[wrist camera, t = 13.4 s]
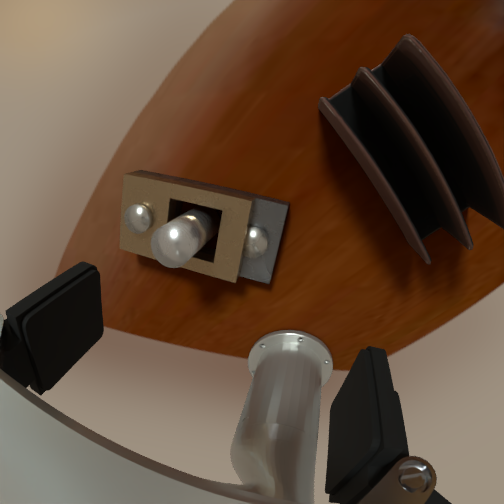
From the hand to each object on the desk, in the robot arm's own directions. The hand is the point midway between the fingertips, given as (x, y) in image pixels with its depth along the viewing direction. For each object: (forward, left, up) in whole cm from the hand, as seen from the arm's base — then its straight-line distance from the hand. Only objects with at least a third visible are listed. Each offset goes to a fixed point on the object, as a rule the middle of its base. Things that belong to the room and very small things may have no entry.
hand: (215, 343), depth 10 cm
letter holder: (+8, -11, -29) cm, 32 cm away
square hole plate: (-6, +10, -28) cm, 31 cm away
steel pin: (-6, +10, -28) cm, 31 cm away
